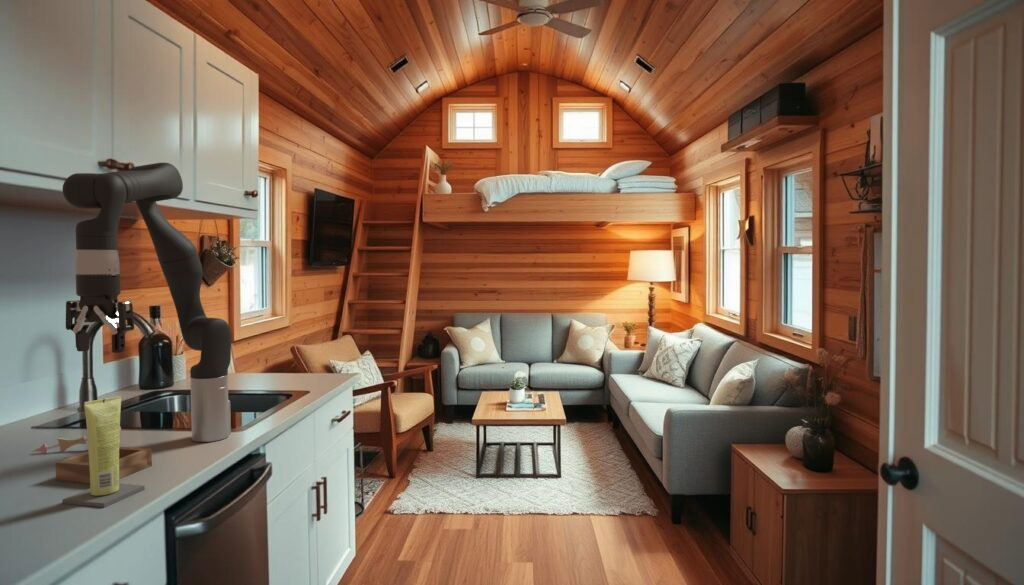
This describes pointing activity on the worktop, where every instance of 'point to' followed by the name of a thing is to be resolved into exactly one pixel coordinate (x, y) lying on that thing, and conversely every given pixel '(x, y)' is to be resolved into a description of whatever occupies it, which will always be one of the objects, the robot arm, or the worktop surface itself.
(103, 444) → the tube
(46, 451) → the decorative key
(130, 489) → the pad
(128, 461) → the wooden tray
